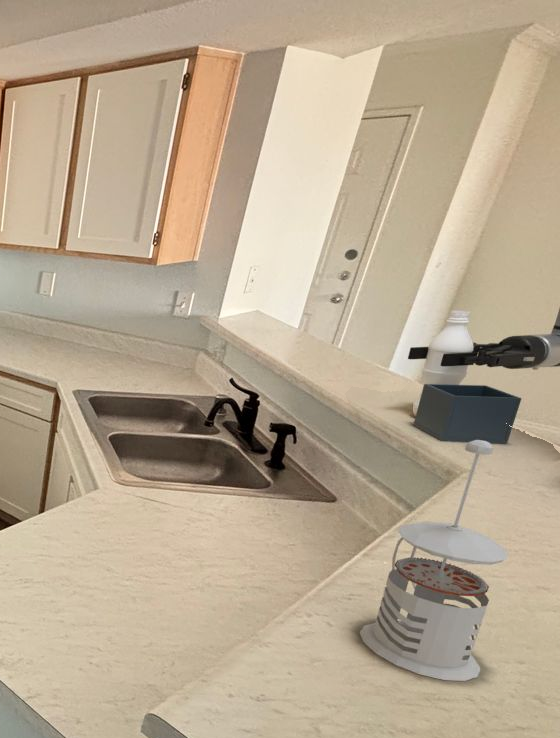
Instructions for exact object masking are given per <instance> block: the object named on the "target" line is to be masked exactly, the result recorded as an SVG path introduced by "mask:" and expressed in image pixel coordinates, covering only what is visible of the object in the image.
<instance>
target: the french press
mask: <svg viewBox="0 0 560 738" xmlns="http://www.w3.org/2000/svg"><path fill="white" fill-rule="evenodd" d="M464 446H465V447H464V450H465V451H466V452H468V453H472V454H475V455H474V458H473V462H472V465H471V468H470V472H469V475H468V478H467V481H466V484H465V488H464V491H463V494H462V497H461V501H460V504H459V506H458V510H457V513H456V517H455V520H454V523H451V522H441V521H430V520H426V521H419V522H412V523H408V524H404V525H401V526H400V527H399V528H398V530H397V532H398V533H399V535H400V536H401V537H400V539H398V540H397V542H396V545H395V548H394V551H393V555H392V562H391V565H392V566H391V571H389V573H388V575H387V579H386V582H385V583H386V584H385V585H386V586H384V589H383V596H382V597H381V600H380V605H379V608H378V611H377V615H376V617H375V622H373V623H369V624H365V625H363V627H362V629H361V630H360V631H359V635H360V637H361V640H362V642H363V643H364V644H365V645H366V646H367V647H368V648H369V649H370V650H371V651H372V652H373V653H375V654H376V655H377V656H379V657H381V658H383V660H384V659H385V660H386V661H388V662H390V663H391V664H393V665H395V666H397V667H399V668H403V669H405V670H408V671H410V672H413V673H415V674H418V675H421V676H425V677H430V678H434V679H438V680H442V681H455V682H466V681H469V680H473V679H475V678H478V677H479V674H480V671H481V666H480V665H479V664H478V662H477V660H476V659H475V657H474V656H473V655H472V652H473V649H474V646H475V644H476V640H477V637H478V634H479V631H480V629H481V626H482V623H483V620H484V618H485V614H486V611H487V607H488V605H489V601H490V599H489V598H488V596H487V594H486V593H487V592H488V591H489V589H490V586H489V584H487V582H486V581H485V580H484V579H483V578H482V577H480V576H478V574H474V572H471V570H467V569H464V568H463V567H460V566H456V565H455V564H451V563H448V562H447V560H449V561H453V562H457V563H465V564H470V565H485V566H487V565H488V566H491V565H496V564H499V563H502V562H504V561H506V560H507V558H508V555H509V553H508V552H507V551H506V550H505V548H504V547H503V546H502V545H500V544H499V543H498V542H496V541H495V540H493V539H491V538H490V537H489V536H486V535H485V534H483V533H481V532H479V531H476V530H473V529H469V528H467V527H465V526H460V525H458V524H459V522H460V518H461V515H462V511H463V508H464V505H465V502H466V499H467V496H468V492H469V489H470V486H471V482H472V479H473V476H474V472H475V469H476V467H477V463H478V460H479V456H480V455H492V454H493V451H494V447H493V444H492V443H489V442H487V441H483V440H474V441H471V442H466V444H465V445H464ZM403 541H404V542H406V543H408V544H409V545H411V546H413V548H412V551H411V554H410V557H405V558H401V559H397V561H396V557H397V554H398V549H399V546H400V545H401V544H402V542H403ZM417 549H418V550H420V551H422V552H424V553H427V554H429V555H431V556H435V557H438V558H441V559H442V560H441V561H439V560H438V559H437V560H436V559H430V558H428V559H427V557H425V558H423V557H415V555H416V553H417ZM409 582H411V584H412V587H413V589H414V590H413V594H412V593H410V592H408V591H407V588H408V585H409ZM467 597H473V598H474V599H476V600H477V601H478V602H479V603H480V606H478V605H477V604H476V603H475V602H474V601H472V599H470V598H467ZM445 600H447V601H455V602H458V603H461V604H465V605H466V606H469V607H461V606H458V605H456V604H450V603H444V602H445ZM401 609H402V610H403V611H405V612H406V613H407V614H406V616H405V615H404V614H402V613H401ZM478 625H479V626H478ZM470 637H471V639H470Z"/></svg>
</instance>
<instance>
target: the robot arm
mask: <svg viewBox="0 0 560 738" xmlns="http://www.w3.org/2000/svg"><path fill="white" fill-rule="evenodd" d="M472 342H473V341H472ZM428 347H429V346H415V347H414V346H411V347H410V348H409V352H408V356H407V360H426V357H427V354H428V350H429V349H428ZM463 365H468V366H474V365H475V366H479V367H481V366H486V367H488V368H498V367H502V368H505V369H509V370H517V369H519V370H520V369H522V370H523V369H532V370H534V371H537V370H539V369H540V368H552V367H553V368H554V367H555V368H558V367H560V307H559V309H558V312H557V315H556V319H555V322H554V325H553V327H552V329H551V332H550V333H541V334H526V335H510V336H508V337H505V338H503V339H502V340H500V341H499V342H489V343H476V342H475V341H474V342H473V351H472V352H470V353H450V354H443V358H442V361H441V365H440V366H463Z"/></svg>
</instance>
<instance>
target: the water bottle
mask: <svg viewBox="0 0 560 738" xmlns="http://www.w3.org/2000/svg"><path fill="white" fill-rule="evenodd" d="M470 315H471V311H470V310H457V309H456V310H451V311H450V315H449V317H448V318H447V320H446V322H447V324H446V325H445V327H444V328H443V329H442V330H441V331H440V332H439V333H438V334H437V335H436V336H435V337H434V338H433V339H432V340H431V342H430V343H429V345H428V346H427V347H428V349H429V350H428V354H427V357H426V359H425V362H424V365H423V367H422V370H421V373H422V378H423V384H422V388H421V392H420V394H419V395H418V397H417V398H416V399H415V400H414V401H413V405H412V412H413V415H414V416H415V417H416V413H417V410H418V406H419V402H420V398H421V395H422V391H423V387H424V384H445V385H461V383H462V382H463V380H464V379H465V378H466V377H467V374H468V372H467V371H468V366H469V365H463V366H440V365H441V361H442V358H443V354H450V353H470V352H472V351H473V340H472V337H471V335H470V333H469V330H468V323H470Z"/></svg>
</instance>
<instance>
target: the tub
mask: <svg viewBox="0 0 560 738" xmlns="http://www.w3.org/2000/svg"><path fill="white" fill-rule="evenodd" d="M423 384H424V383H423ZM422 389H423V391H422V390H421V392H422V395H421V398H420V402H419V406H418V410H417V413H416V416H415V417H414V421H413V424H412V426H414V427H415V428H417V429H419V430H421V431H423V432H424V433H427V434H428V435H430V436H431V437H433V438H434V439H437V440H439V441H441V442H442V441H443V442H461V443H462V442H463V443H468V442H471V441H474V440H483V441H487V442H489V443H490V444H501V445H503V444H504V445H507V444H508V441H509V440H510V436H511V432H512V430H513V426H514V424H515V420H516V417H517V415H518V411H519V408H520V405H521V402H522V397H519V396H517V395H514V394H511V393H508V392H506V391H503V390H500V389H497V388H494V387H491V386H488V385H483V384H479V385H478V384H477V385H476V384H459V385H445V384H424V387H423V386H422ZM506 423H507V424H506ZM509 425H510V426H512V427H510V426H509Z"/></svg>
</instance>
